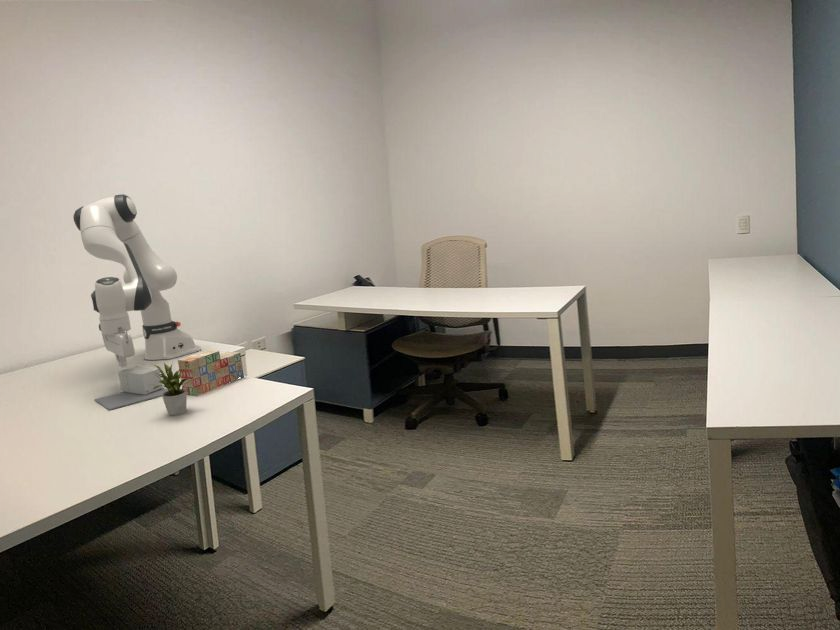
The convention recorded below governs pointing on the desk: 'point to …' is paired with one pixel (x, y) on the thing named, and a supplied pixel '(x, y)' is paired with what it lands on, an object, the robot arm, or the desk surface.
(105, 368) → the desk surface
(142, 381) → the supplement box
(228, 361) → the stack of blocks
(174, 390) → the house plant
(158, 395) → the mat
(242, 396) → the desk surface
